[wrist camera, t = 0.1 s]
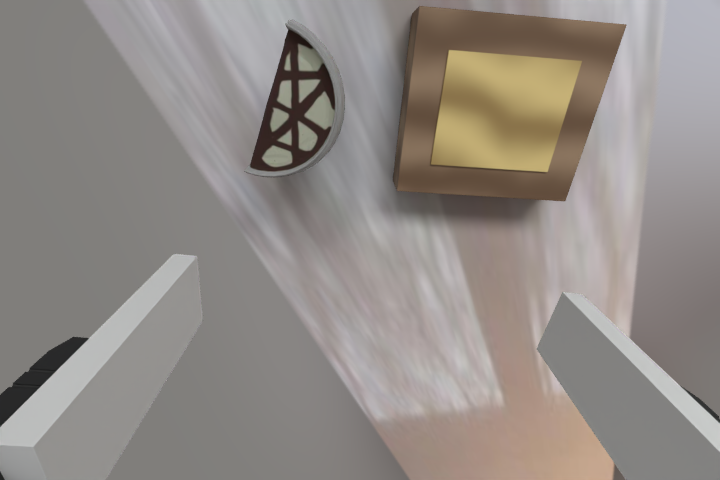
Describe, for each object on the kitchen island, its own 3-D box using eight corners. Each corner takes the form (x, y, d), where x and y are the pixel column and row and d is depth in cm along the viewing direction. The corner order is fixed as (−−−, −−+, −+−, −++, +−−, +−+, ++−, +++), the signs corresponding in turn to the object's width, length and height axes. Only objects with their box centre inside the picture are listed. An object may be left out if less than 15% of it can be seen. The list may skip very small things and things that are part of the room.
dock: (412, 13, 32) (420, 5, 28) (596, 30, 33) (628, 24, 29) (392, 180, 39) (397, 191, 35) (545, 189, 40) (566, 201, 36)
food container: (322, 174, 38) (313, 204, 29) (268, 153, 37) (242, 177, 28) (364, 60, 34) (369, 54, 25) (305, 31, 32) (287, 14, 23)
